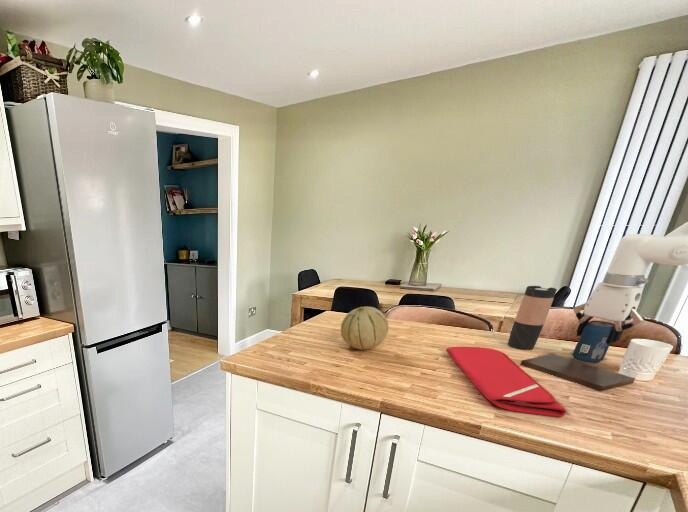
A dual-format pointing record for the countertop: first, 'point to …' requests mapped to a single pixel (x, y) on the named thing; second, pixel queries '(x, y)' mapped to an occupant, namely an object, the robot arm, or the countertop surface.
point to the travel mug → (531, 317)
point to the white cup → (644, 358)
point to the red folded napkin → (504, 381)
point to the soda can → (593, 342)
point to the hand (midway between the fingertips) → (595, 338)
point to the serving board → (578, 372)
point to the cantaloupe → (364, 328)
